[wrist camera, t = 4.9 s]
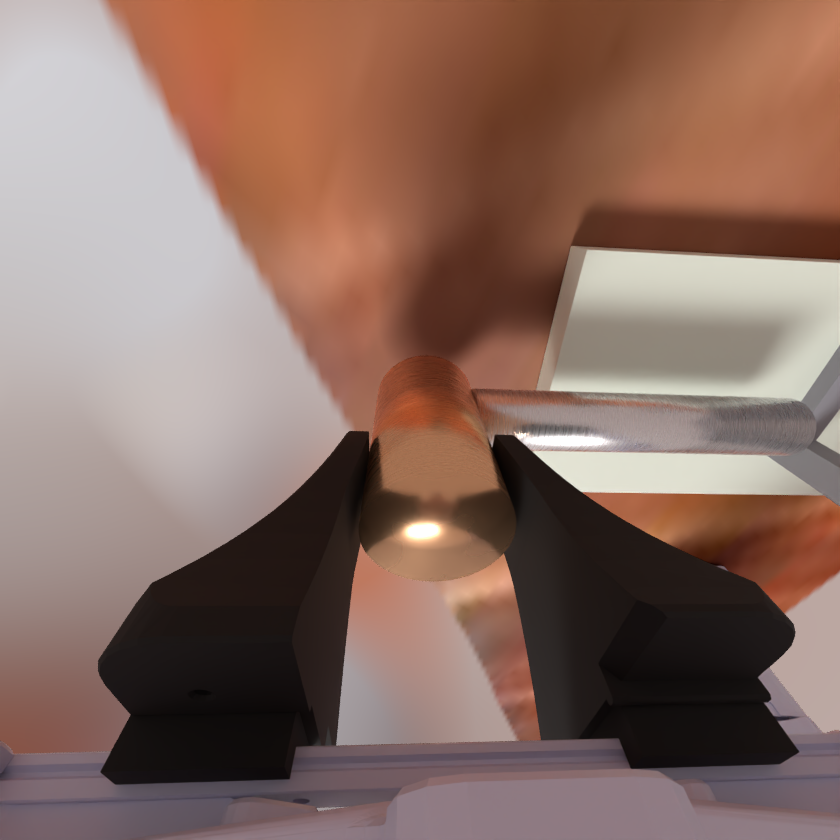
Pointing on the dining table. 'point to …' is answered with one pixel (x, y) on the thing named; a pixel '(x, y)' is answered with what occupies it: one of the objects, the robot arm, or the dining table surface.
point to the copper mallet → (540, 431)
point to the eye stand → (700, 359)
